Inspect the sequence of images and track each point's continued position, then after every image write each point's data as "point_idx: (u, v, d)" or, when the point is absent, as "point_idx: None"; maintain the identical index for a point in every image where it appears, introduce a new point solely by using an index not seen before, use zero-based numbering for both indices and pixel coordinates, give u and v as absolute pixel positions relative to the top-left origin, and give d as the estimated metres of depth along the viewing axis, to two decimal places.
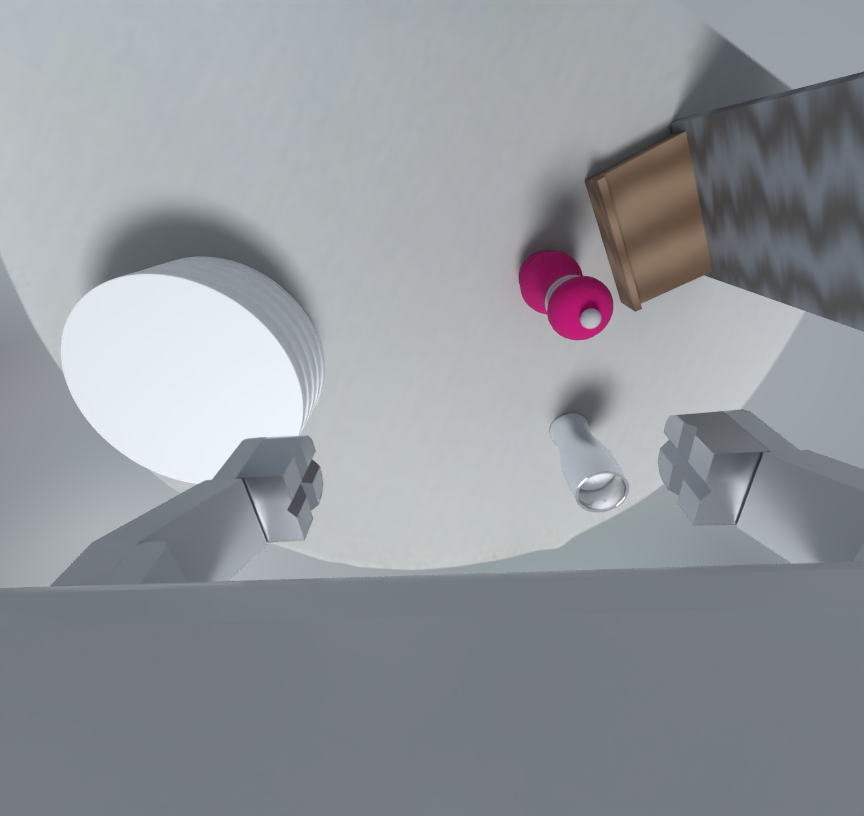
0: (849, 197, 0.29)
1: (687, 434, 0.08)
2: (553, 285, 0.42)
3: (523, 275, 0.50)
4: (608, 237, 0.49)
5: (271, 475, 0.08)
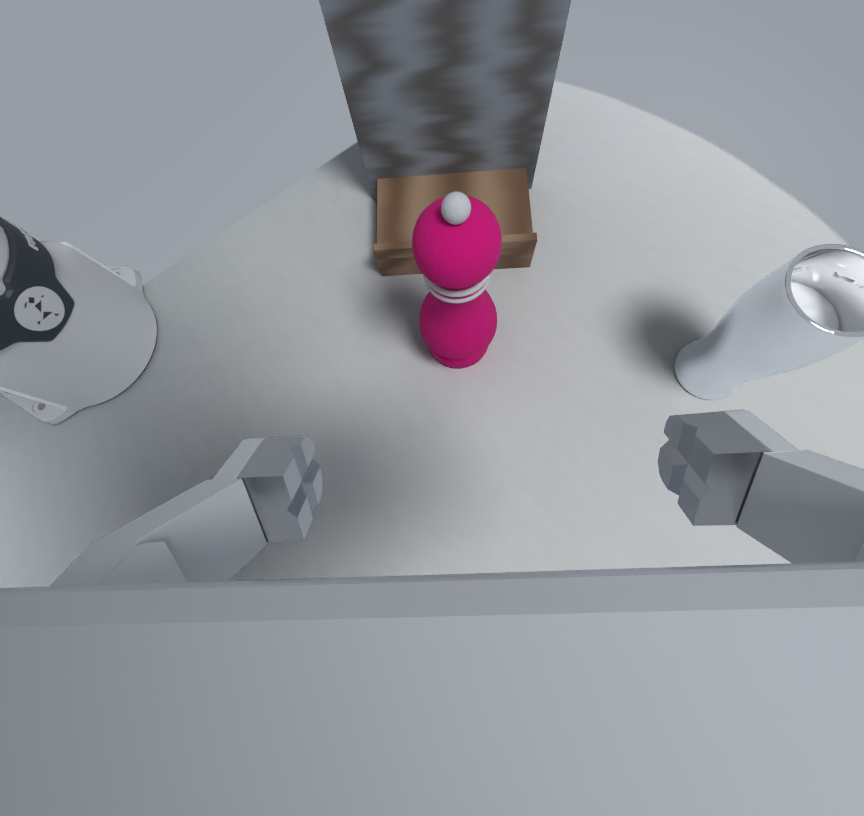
0: None
1: (687, 434, 0.08)
2: (427, 285, 0.31)
3: (432, 347, 0.38)
4: None
5: (271, 475, 0.08)
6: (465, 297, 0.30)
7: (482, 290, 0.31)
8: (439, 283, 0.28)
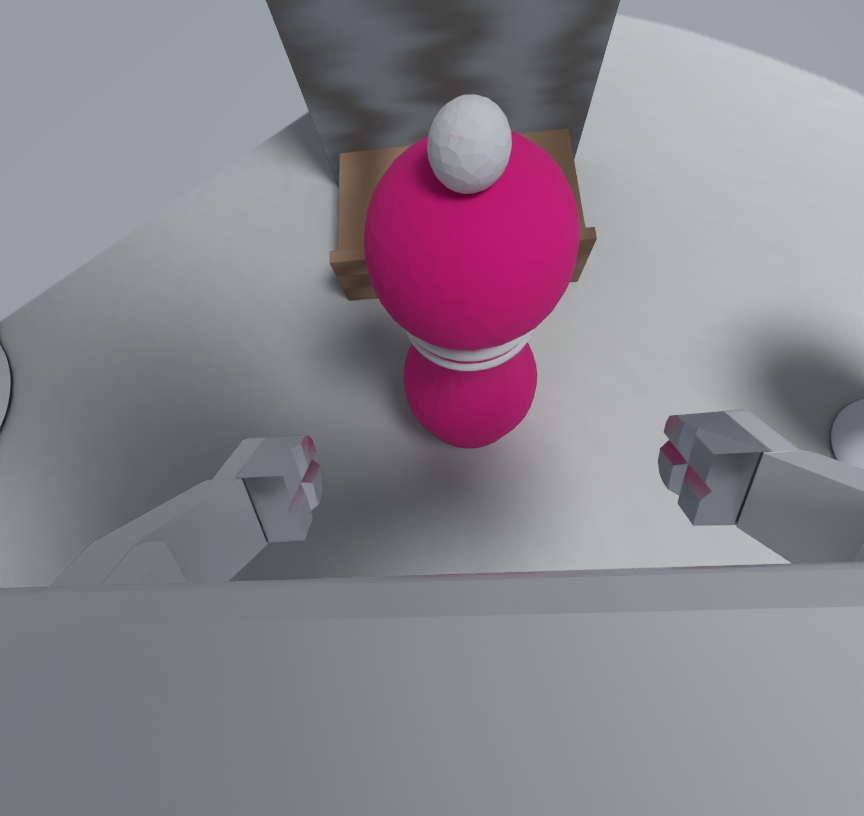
0: None
1: (687, 434, 0.08)
2: (409, 333, 0.15)
3: (427, 427, 0.22)
4: None
5: (271, 475, 0.08)
6: (488, 360, 0.14)
7: (523, 343, 0.15)
8: (430, 341, 0.12)
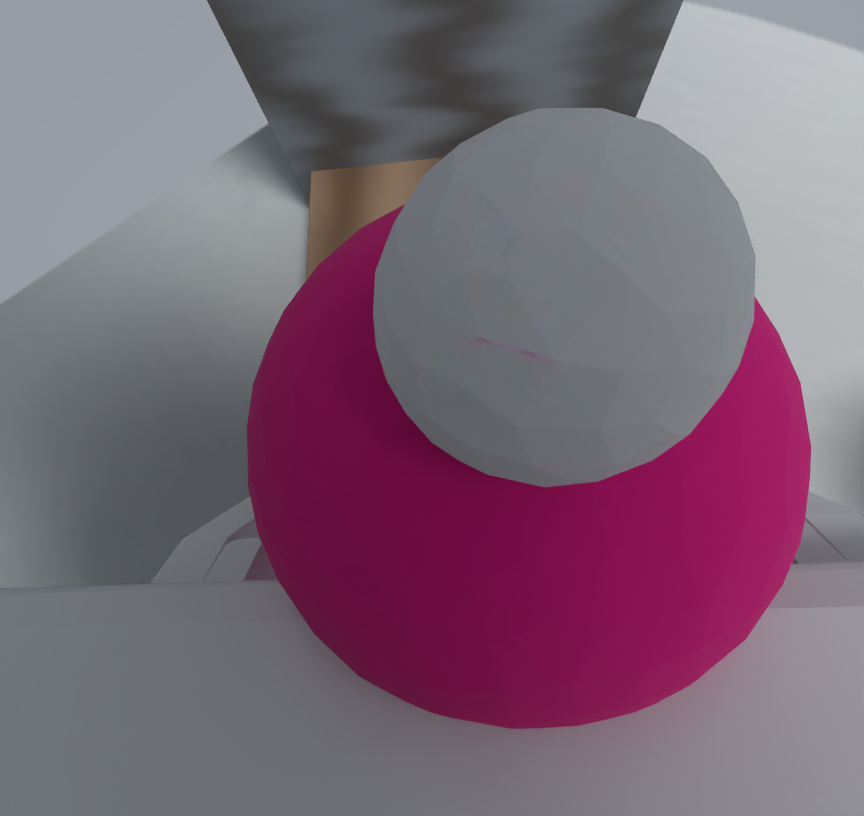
0: None
1: None
2: None
3: None
4: None
5: None
6: None
7: None
8: None
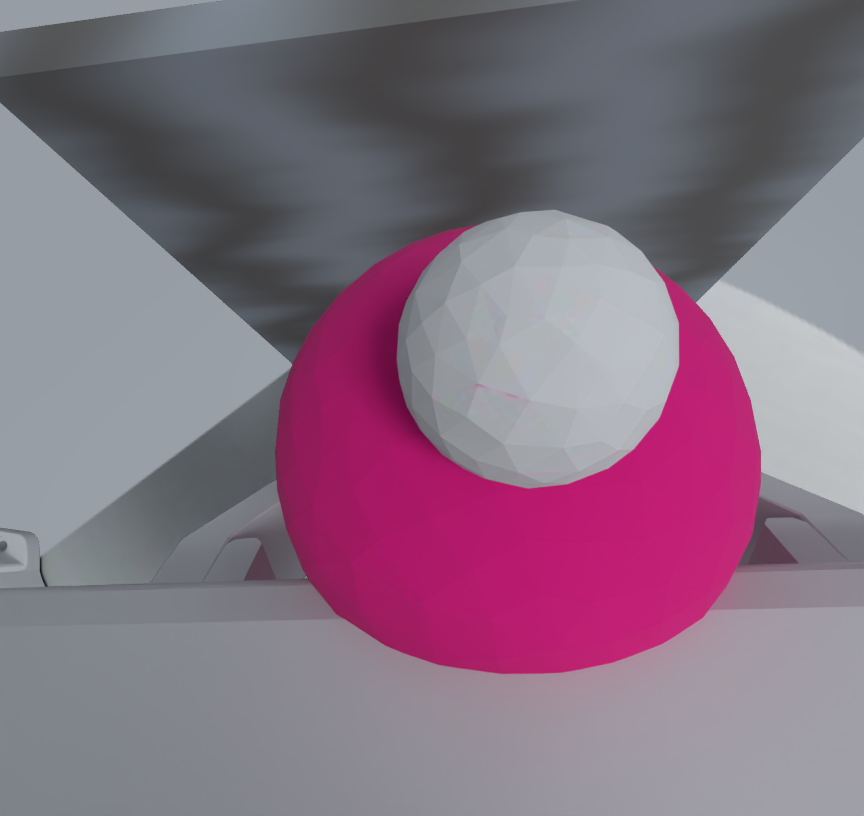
0: (412, 237, 0.12)
1: None
2: None
3: None
4: None
5: None
6: None
7: None
8: None
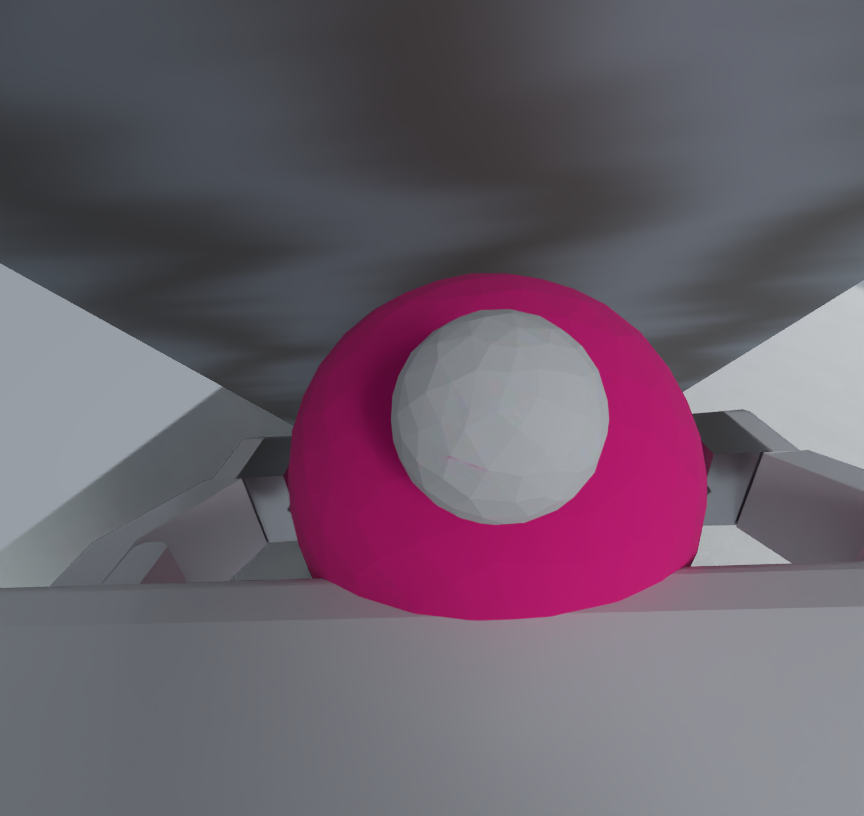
0: (319, 21, 0.04)
1: None
2: None
3: None
4: None
5: (271, 475, 0.08)
6: None
7: None
8: None
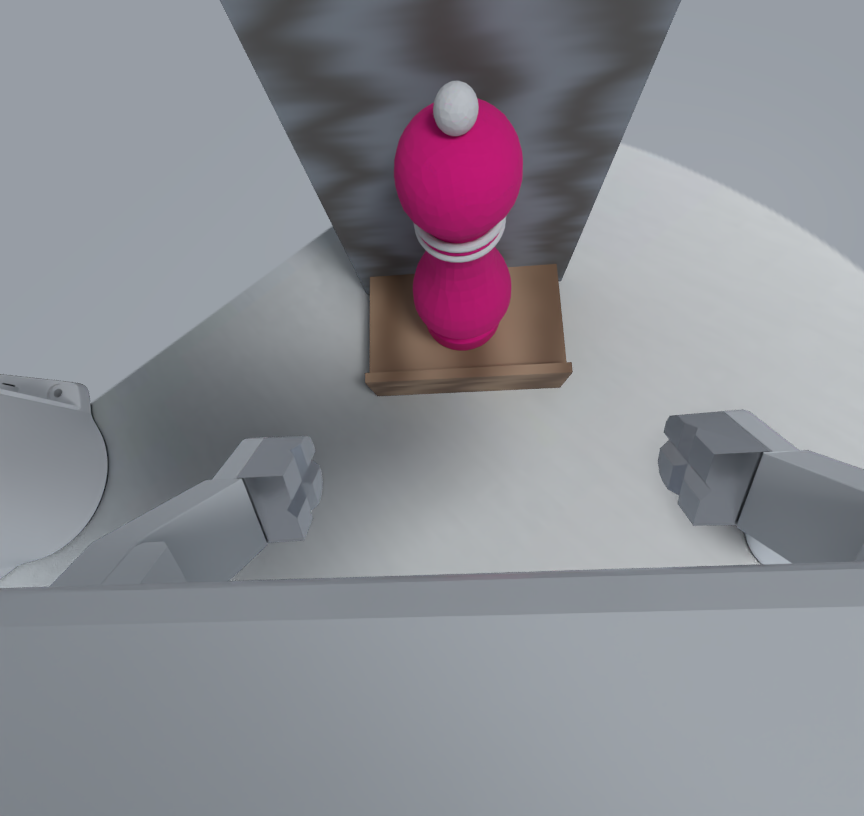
0: (412, 17, 0.17)
1: (687, 434, 0.08)
2: (419, 238, 0.23)
3: (429, 325, 0.30)
4: (450, 385, 0.34)
5: (271, 475, 0.08)
6: (470, 253, 0.22)
7: (494, 243, 0.22)
8: (433, 231, 0.19)
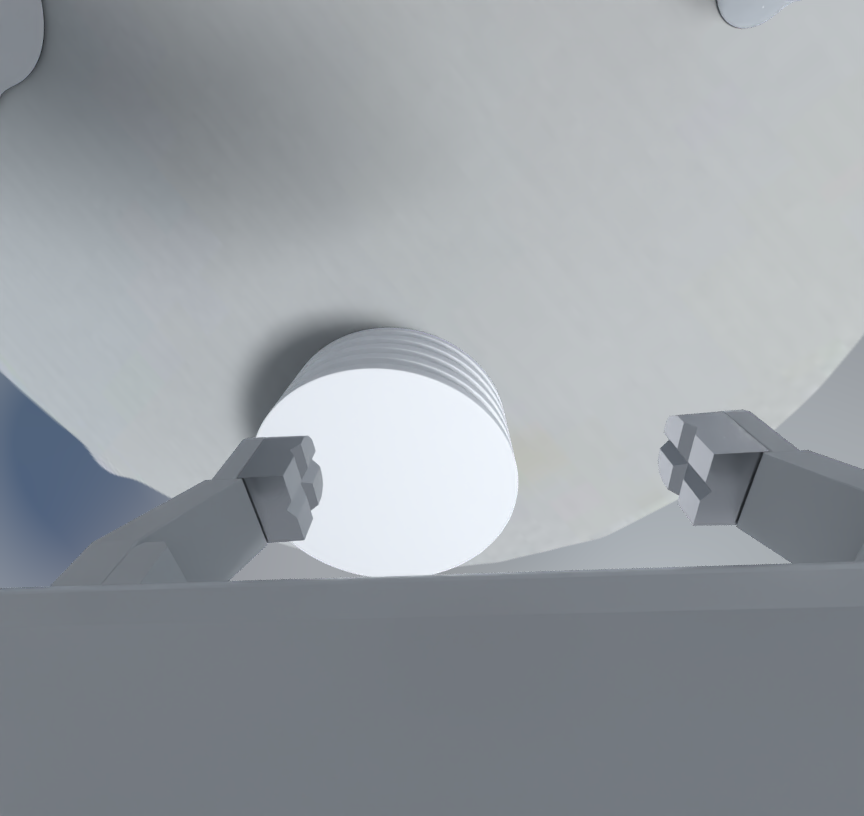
0: None
1: (687, 434, 0.08)
2: None
3: None
4: None
5: (271, 475, 0.08)
6: None
7: None
8: None
